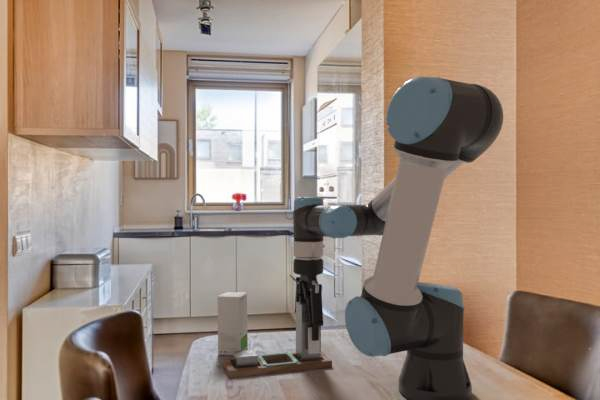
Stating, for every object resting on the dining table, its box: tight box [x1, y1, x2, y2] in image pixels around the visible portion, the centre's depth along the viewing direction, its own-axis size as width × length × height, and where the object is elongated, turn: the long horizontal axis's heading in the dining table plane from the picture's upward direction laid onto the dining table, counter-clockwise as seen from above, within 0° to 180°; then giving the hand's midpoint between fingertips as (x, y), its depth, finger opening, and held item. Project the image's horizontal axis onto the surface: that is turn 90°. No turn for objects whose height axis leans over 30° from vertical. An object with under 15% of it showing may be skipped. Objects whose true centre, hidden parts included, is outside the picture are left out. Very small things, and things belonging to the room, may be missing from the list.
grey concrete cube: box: [233, 349, 259, 369], centre depth 121 cm, size 5×5×4 cm
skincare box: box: [217, 291, 249, 357], centre depth 135 cm, size 8×7×16 cm
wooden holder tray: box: [222, 351, 333, 379], centre depth 124 cm, size 9×25×2 cm, turn 107°
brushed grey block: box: [295, 302, 322, 362], centre depth 126 cm, size 5×5×15 cm
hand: (308, 347), depth 126 cm, fingers open, 8 cm apart
